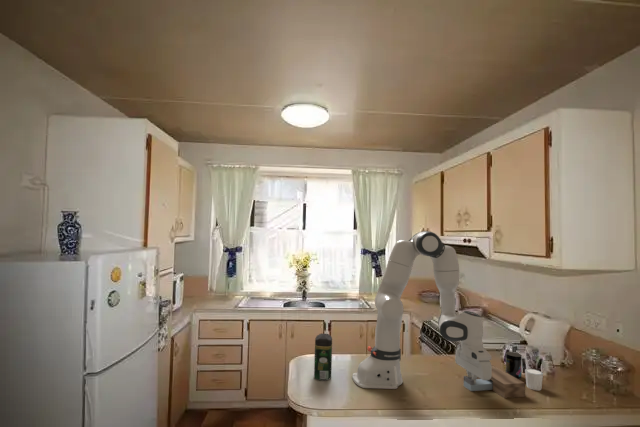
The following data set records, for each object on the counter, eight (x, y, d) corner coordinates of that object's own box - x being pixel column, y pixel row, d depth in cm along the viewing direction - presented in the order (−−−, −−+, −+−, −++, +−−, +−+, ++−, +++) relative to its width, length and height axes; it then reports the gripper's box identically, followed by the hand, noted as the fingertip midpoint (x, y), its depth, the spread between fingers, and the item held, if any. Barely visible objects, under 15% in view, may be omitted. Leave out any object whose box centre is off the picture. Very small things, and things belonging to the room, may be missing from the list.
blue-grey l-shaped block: (470, 391, 149) (470, 380, 149) (463, 386, 154) (463, 376, 154) (495, 389, 151) (495, 379, 151) (487, 384, 156) (487, 374, 156)
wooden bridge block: (504, 398, 143) (504, 384, 144) (473, 377, 163) (473, 365, 163) (525, 396, 146) (525, 383, 146) (491, 376, 165) (492, 364, 165)
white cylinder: (543, 387, 156) (543, 371, 156) (542, 392, 150) (542, 376, 150) (525, 382, 159) (525, 367, 160) (524, 388, 154) (524, 371, 154)
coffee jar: (314, 371, 163) (316, 331, 164) (331, 373, 163) (332, 332, 164) (312, 380, 154) (314, 337, 155) (330, 381, 153) (332, 338, 154)
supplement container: (515, 380, 162) (515, 357, 162) (502, 374, 168) (502, 352, 169) (524, 378, 165) (525, 355, 165) (511, 372, 171) (511, 351, 171)
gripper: (451, 342, 162) (451, 373, 161) (481, 358, 142) (481, 393, 141) (463, 342, 163) (463, 372, 163) (494, 357, 143) (494, 392, 143)
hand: (471, 382), depth 152 cm, fingers closed, pressing on blue-grey l-shaped block
